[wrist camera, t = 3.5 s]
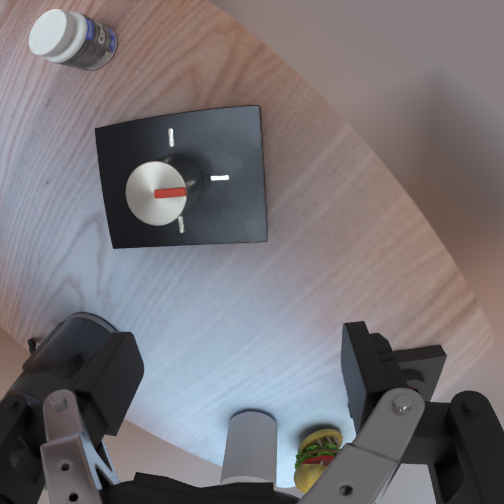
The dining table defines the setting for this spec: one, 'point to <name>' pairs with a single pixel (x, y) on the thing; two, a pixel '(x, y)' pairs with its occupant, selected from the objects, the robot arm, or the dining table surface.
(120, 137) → the panel
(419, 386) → the button block
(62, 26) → the pill bottle
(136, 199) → the knob
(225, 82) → the dining table surface
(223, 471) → the beverage can
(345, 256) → the dining table surface
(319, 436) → the hamburger
